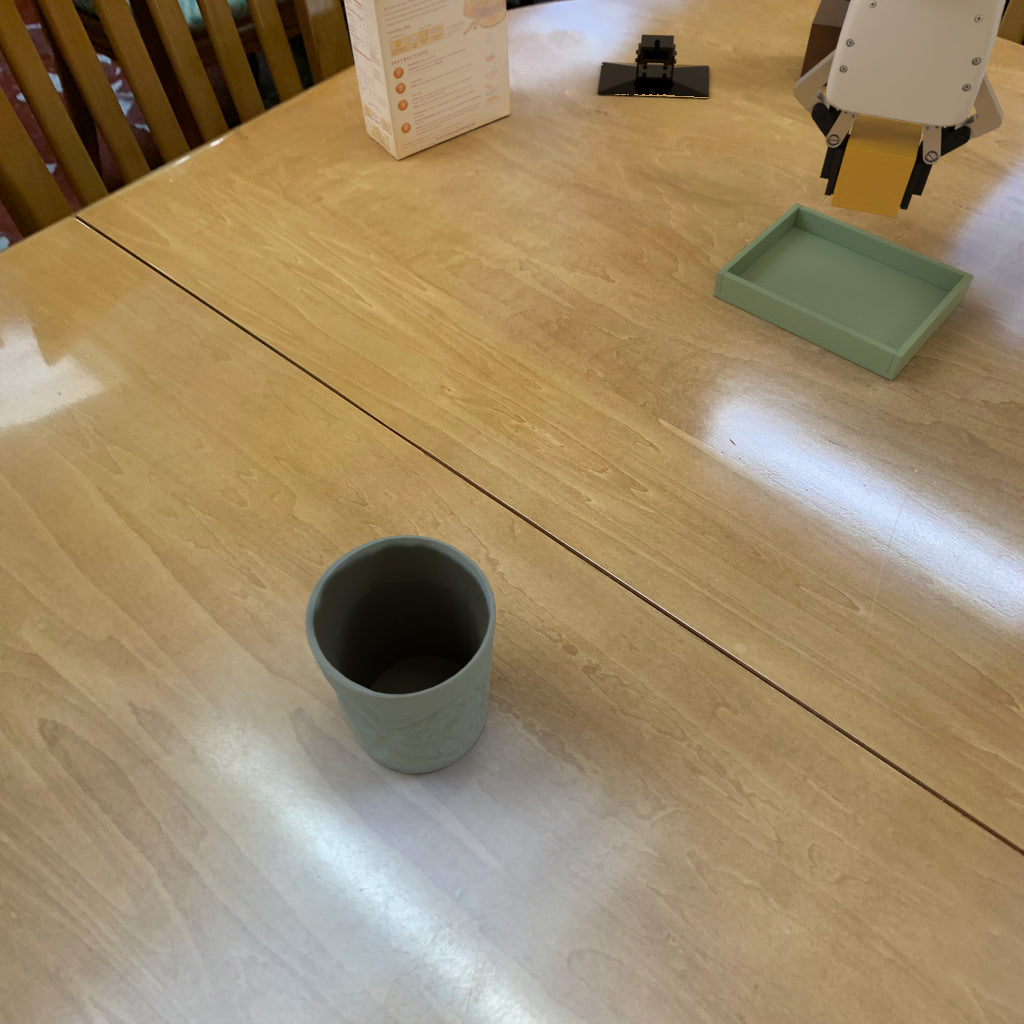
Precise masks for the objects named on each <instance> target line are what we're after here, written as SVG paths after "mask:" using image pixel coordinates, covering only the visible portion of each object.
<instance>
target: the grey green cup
mask: <svg viewBox="0 0 1024 1024" xmlns="http://www.w3.org/2000/svg"><path fill="white" fill-rule="evenodd" d="M496 622H497V605H496V600H495V594H494V591H493V589H492V586H491V584H490V581H489V580H488V578H487V576H486V575H485V572H484V571H483V570H482V568H480V567H479V565H478V564H477V563H476V561H474V560H473V559H472V558H470V556H468V555H466V554H465V553H464V552H462V551H461V550H459V549H458V547H456V546H454V545H452V544H449V543H447V542H444V541H442V540H439V539H438V538H433V537H429V536H425V535H424V536H423V535H414V534H400V535H399V534H398V535H391V536H385V537H380V538H376V539H372V540H370V541H367V542H365V543H363V544H360V545H358V546H355V547H354V548H352V549H350V550H349V551H347V552H346V553H344V554H343V555H341V556H340V557H339V558H338V559H336V560H335V561H334V562H333V563H331V564H330V565H329V566H328V567H327V568H326V569H325V570H324V572H323V573H322V575H321V576H320V577H319V579H318V580H317V581H316V583H315V584H314V586H313V589H312V590H311V593H310V595H309V598H308V601H307V605H306V609H305V620H304V626H305V627H304V628H305V635H306V640H307V644H308V646H309V649H310V651H311V653H312V655H313V657H314V659H315V662H316V663H317V665H318V668H319V669H320V671H321V673H322V675H323V677H324V678H325V680H326V681H327V682H328V683H329V685H330V686H331V688H332V689H333V690H334V692H335V695H336V699H337V703H338V706H339V708H340V709H341V710H342V711H343V712H344V715H345V717H346V720H347V723H348V725H349V727H350V729H351V731H352V733H353V735H354V737H355V739H356V740H357V742H358V744H359V745H360V747H361V748H362V750H363V751H364V752H365V753H366V755H368V756H369V757H370V758H371V759H372V760H373V761H375V762H377V763H378V764H380V765H381V766H383V767H385V768H387V769H389V770H393V771H396V772H398V773H399V772H400V773H403V774H426V773H432V772H436V771H439V770H442V769H444V768H446V767H448V766H451V765H452V764H453V763H455V762H457V761H458V760H460V759H461V758H463V756H465V755H466V754H467V753H468V752H469V751H470V750H471V749H472V748H473V746H474V745H475V744H476V742H477V740H478V739H479V738H480V736H481V734H482V732H483V730H484V728H485V724H486V721H487V718H488V710H489V696H490V687H491V686H490V682H491V676H492V663H493V655H492V652H493V649H494V645H493V644H494V640H495V639H494V638H495V632H496V631H495V630H496Z"/></svg>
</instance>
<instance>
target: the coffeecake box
mask: <svg viewBox="0 0 1024 1024" xmlns="http://www.w3.org/2000/svg"><path fill="white" fill-rule="evenodd" d="M343 2H344V8H345V9H344V10H345V13H346V14H345V15H346V20H347V25H348V32H349V37H350V43H351V49H352V54H353V60H354V66H355V73H356V79H357V84H358V90H359V96H360V101H361V107H362V114H363V118H364V125H365V129H366V134H367V133H368V134H369V135H370V136H371V137H372V138H373V139H375V140H376V141H377V142H378V143H379V144H378V143H377V142H376V141H375V142H376V143H377V144H378V145H380V146H382V148H383V149H385V151H387V153H388V154H390V155H391V157H393V156H394V157H393V158H394V159H395V160H397V161H399V160H401V159H404V158H407V157H409V156H411V155H413V154H416V153H419V152H420V151H423V150H425V149H428V148H430V147H433V146H436V145H437V144H441V143H443V142H445V141H447V140H450V139H453V138H455V137H458V136H460V135H463V134H466V133H467V132H470V131H472V130H474V129H477V128H481V127H482V126H485V125H487V124H489V123H493V122H494V121H497V120H500V119H502V118H505V117H506V116H510V115H511V113H512V112H511V111H512V110H511V89H510V88H511V87H510V66H509V63H510V62H509V40H508V38H509V37H508V18H507V15H508V14H507V0H343ZM370 136H369V137H370ZM371 137H370V138H371ZM372 138H371V139H372ZM373 139H372V140H373Z"/></svg>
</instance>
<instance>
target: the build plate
mask: <svg viewBox="0 0 1024 1024" xmlns="http://www.w3.org/2000/svg"><path fill="white" fill-rule="evenodd" d="M676 45H677V44H676V43H675V35H670V34H669V35H668V34H641V38H640V42H638V46H637V49H636V50H635V55H637V56H636V57H635V58H634V62H620V61H619V62H616V61H615V62H614V61H603V62H601V66H600V73H599V80H598V86H597V95H598V94H607V95H606V96H609V95H608V94H611V95H610V96H615V94H620V95H621V94H626V95H627V94H629V95H634V94H638V95H642V94H645V95H649V94H652V95H657V94H659V95H663V94H666V95H675V96H694V97H708V96H709V97H710V65H708V64H706V65H705V64H704V65H703V64H677V62H678V60H677V58H676V56H678V51H677V50H676V47H677V46H676ZM602 64H603V65H602ZM675 64H677V65H675Z"/></svg>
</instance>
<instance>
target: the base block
mask: <svg viewBox="0 0 1024 1024" xmlns="http://www.w3.org/2000/svg"><path fill="white" fill-rule="evenodd" d="M850 1H851V0H820V2H819V5H818V8H817V10H816V12H815V15H814V17H813V20H812V22H811V26H810V30H809V35H808V40H807V45H806V49H805V53H804V58H803V63H802V68H801V72H800V77H799V79H800V78H801V77H803V76H804V75H805V74H806V73H807V72H809V71H810V70H811V69H812V68H813V67H815V66H816V65H817V64H818V63H819V62H821V61H822V60H823V59H824V58H825V57H827V56H828V55H829V54H830V53H831V52H833V51H834V50H835V49H836V48H837V44H838V41H839V37H840V33H841V30H842V27H843V24H844V20H845V17H846V14H847V10H848V7H849V4H850ZM827 83H828V82H827ZM827 83H825V84H824V85H823V86H824V87H827ZM823 86H822V87H823Z"/></svg>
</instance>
